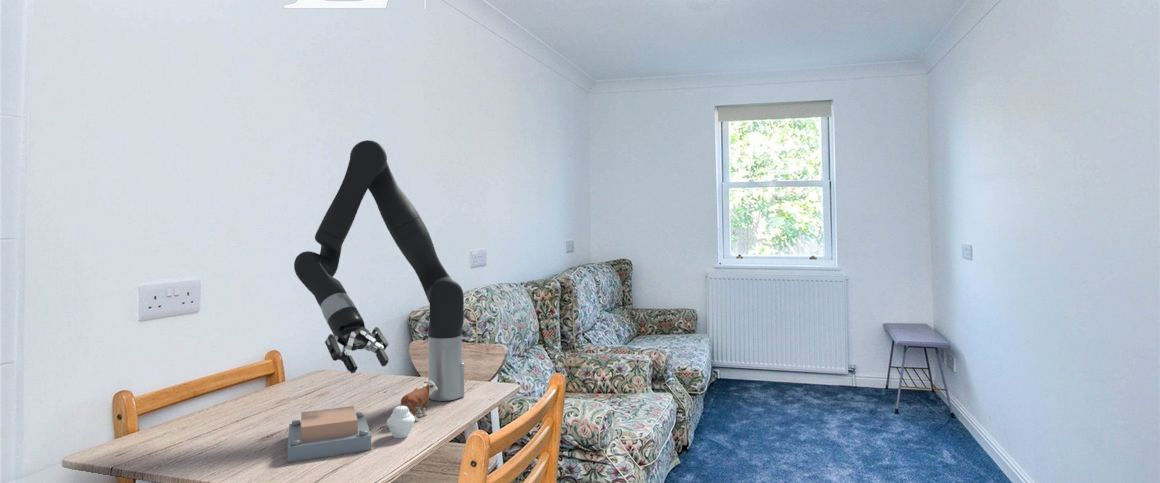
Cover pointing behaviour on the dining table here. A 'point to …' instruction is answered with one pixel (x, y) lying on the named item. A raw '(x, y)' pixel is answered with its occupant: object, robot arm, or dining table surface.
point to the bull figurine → (419, 398)
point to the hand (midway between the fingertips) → (370, 367)
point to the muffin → (400, 422)
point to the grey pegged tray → (328, 434)
